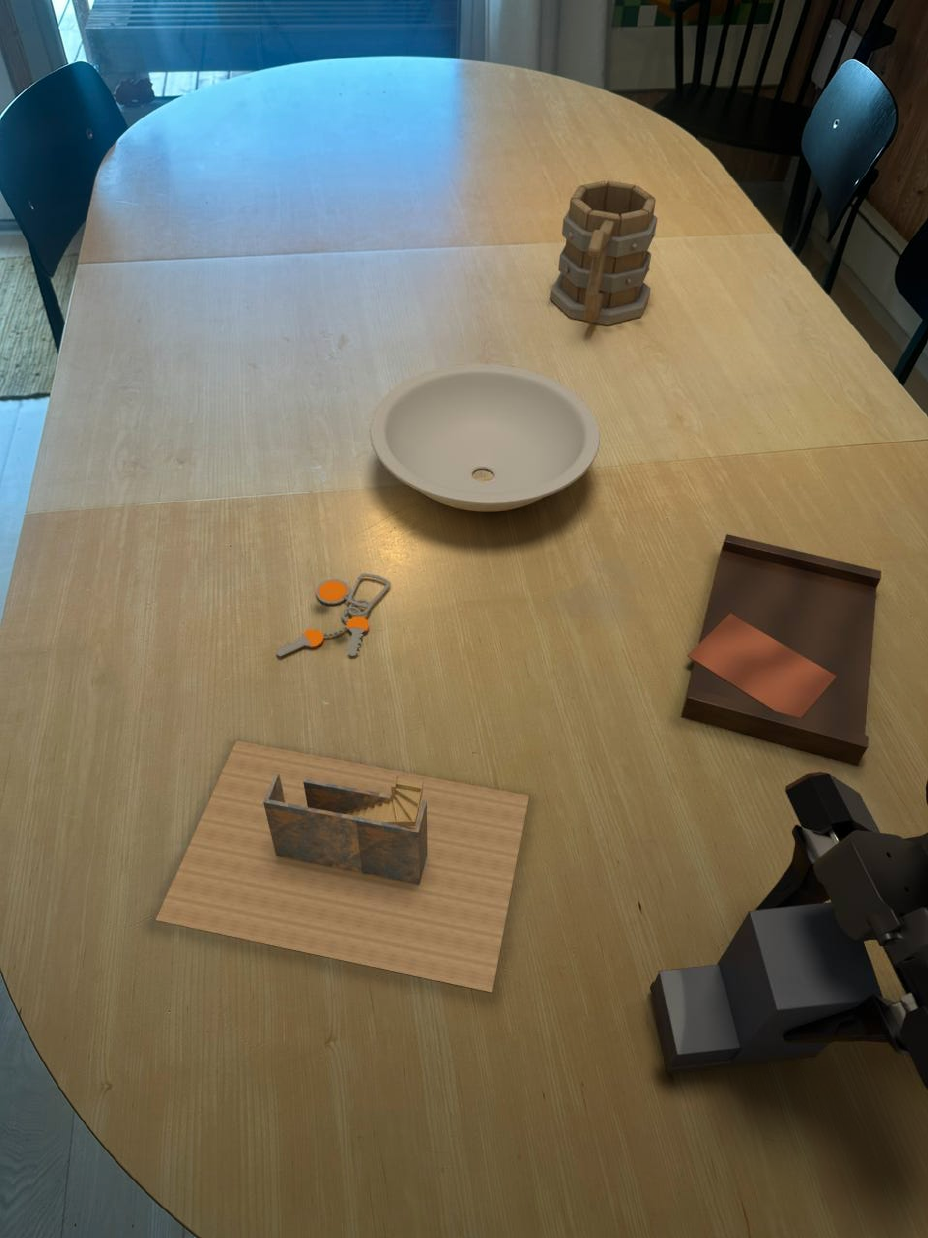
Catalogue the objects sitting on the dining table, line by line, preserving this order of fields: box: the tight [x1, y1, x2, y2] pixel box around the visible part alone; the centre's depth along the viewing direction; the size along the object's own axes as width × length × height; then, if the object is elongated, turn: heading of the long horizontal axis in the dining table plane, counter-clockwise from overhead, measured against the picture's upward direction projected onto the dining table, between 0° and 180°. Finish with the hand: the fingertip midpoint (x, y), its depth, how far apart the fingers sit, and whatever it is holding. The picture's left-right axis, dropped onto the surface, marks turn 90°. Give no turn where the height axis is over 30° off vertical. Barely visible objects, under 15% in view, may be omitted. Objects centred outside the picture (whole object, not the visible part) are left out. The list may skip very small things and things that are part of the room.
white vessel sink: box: [369, 363, 601, 513], centre depth 103 cm, size 24×24×7 cm
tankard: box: [549, 179, 658, 326], centre depth 124 cm, size 20×13×15 cm, turn 162°
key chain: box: [275, 572, 392, 658], centre depth 91 cm, size 13×7×1 cm, turn 158°
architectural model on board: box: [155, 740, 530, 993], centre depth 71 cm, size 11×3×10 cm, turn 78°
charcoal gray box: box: [649, 901, 884, 1075], centre depth 60 cm, size 10×6×14 cm, turn 96°
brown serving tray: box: [680, 533, 882, 766], centre depth 89 cm, size 16×22×3 cm
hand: (764, 983), depth 60 cm, fingers closed on charcoal gray box, 6 cm apart
